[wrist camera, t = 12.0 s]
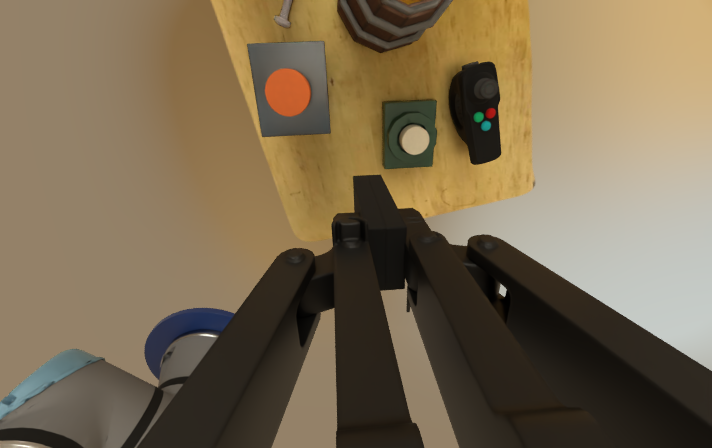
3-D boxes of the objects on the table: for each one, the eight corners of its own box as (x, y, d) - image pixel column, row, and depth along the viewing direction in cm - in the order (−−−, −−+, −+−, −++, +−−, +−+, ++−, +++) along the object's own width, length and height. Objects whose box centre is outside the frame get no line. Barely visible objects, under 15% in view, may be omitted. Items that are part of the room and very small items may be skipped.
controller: (469, 59, 43) (506, 55, 34) (480, 147, 48) (515, 164, 39) (438, 69, 43) (467, 68, 34) (453, 156, 48) (481, 175, 39)
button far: (424, 150, 44) (428, 154, 42) (398, 152, 44) (401, 155, 42) (425, 123, 42) (430, 125, 41) (399, 124, 42) (402, 127, 40)
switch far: (428, 162, 48) (436, 169, 45) (382, 165, 48) (386, 172, 44) (432, 99, 45) (441, 101, 41) (382, 101, 44) (387, 104, 41)
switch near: (330, 114, 44) (330, 133, 30) (284, 116, 44) (261, 137, 30) (326, 52, 41) (324, 40, 27) (276, 54, 41) (246, 43, 26)
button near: (313, 113, 28) (312, 115, 27) (271, 115, 28) (268, 117, 26) (308, 67, 26) (307, 67, 25) (264, 69, 26) (261, 69, 25)
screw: (274, 23, 39) (271, 21, 38) (286, -22, 38) (284, -27, 36) (290, 30, 40) (288, 28, 38) (302, -14, 38) (301, -18, 36)
